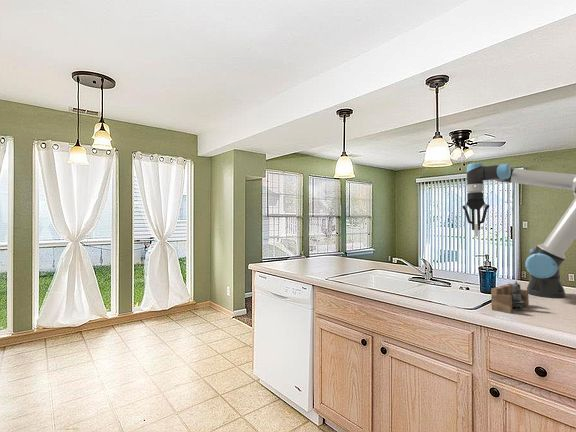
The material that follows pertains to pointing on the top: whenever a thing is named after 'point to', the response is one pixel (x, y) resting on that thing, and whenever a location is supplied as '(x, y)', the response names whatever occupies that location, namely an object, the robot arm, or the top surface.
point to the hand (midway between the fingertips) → (476, 236)
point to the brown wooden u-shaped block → (506, 298)
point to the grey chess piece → (517, 297)
